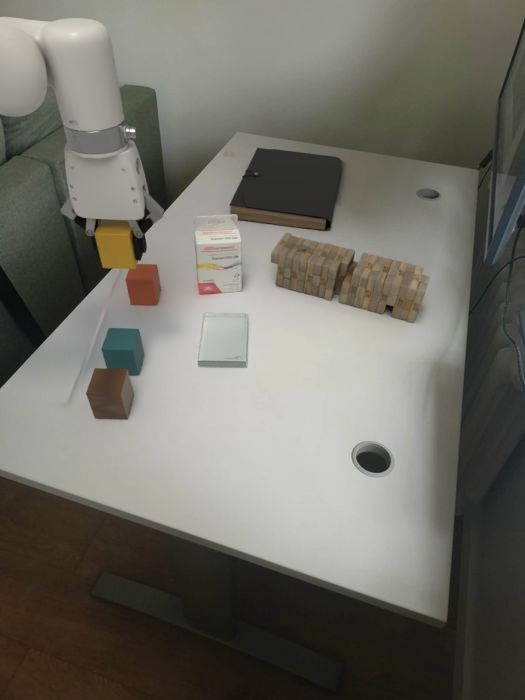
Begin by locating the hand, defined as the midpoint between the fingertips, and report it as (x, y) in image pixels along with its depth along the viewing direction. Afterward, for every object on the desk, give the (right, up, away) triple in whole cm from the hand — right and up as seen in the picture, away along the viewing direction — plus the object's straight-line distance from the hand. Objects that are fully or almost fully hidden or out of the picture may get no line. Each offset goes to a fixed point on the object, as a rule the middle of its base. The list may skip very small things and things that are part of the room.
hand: (121, 253), depth 76 cm
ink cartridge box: (+13, -2, +23) cm, 27 cm away
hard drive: (+15, -14, +12) cm, 23 cm away
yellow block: (0, -1, +1) cm, 1 cm away
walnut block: (-1, -24, +1) cm, 24 cm away
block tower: (+38, -3, +22) cm, 44 cm away
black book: (+29, +26, +51) cm, 64 cm away
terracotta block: (-1, -5, +20) cm, 20 cm away
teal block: (-1, -17, +7) cm, 19 cm away
